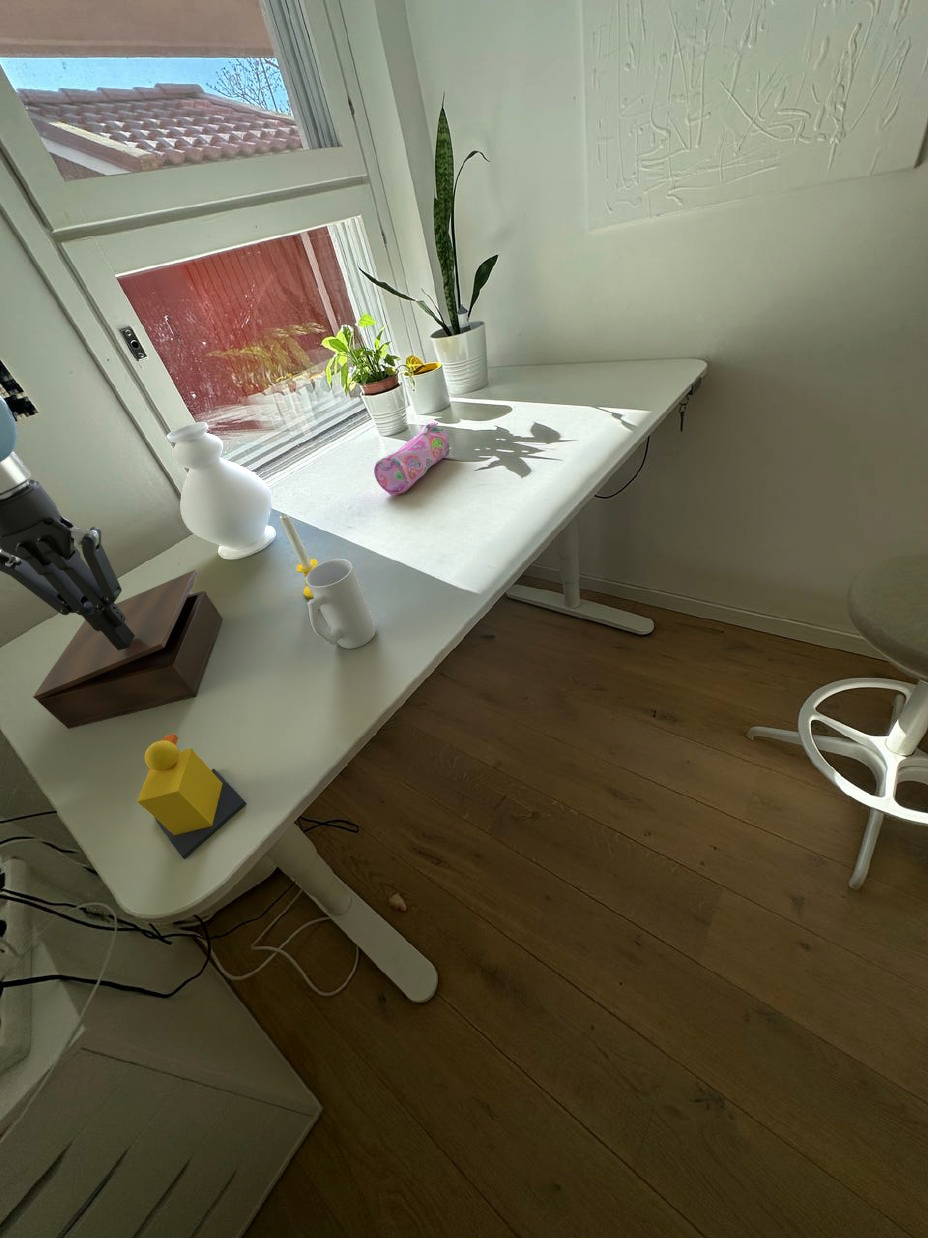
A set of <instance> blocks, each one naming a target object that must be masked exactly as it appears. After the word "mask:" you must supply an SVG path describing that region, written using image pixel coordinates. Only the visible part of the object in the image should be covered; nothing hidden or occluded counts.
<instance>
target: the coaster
mask: <svg viewBox="0 0 928 1238" xmlns="http://www.w3.org/2000/svg"><path fill="white" fill-rule="evenodd" d="M210 770H211V771H212V772H213V773H214V774H215V776H216V777H217V778H218V779H219V780H220V781H221V782H222V788H221V792H220V796H219V800H218V804H217V808H216V812H215V816H214V820H213V824H212V826H210V827H206V828H202V829H198V830H194V831H190V832H186V833H182V834H178V835H174V834H173V833H172V832H170V831H169V830H168V829H167V828H166V827H165V826H164V825H163V824H162V823H160V822H159V821H158V820H157V819H156V818H155V817H154V816H153V819H154V820H155V821H156V823H157V824H158V826H159V828H161V830H162V831H163V833H164V835H165V836H166V837H167V839H168V840H169V841H170V843H171V844H172V846H173V847H174V849H175V850H176V851H177V853H178V855H180V857H181V858H182V859H183V860H185V859H186V858H188V857H189V856H190V855H191V854H192V853H193V852H195V850H197V848H198V847H200V846H201V845H202V844H204V843H205V842H206V840H208V839H209V838H210V837H211V836H213V834H214V833H216V832H217V831H218V830H219V829H220V828H221V827H222V826H223V825H224V824H226V823H227V822H228V821H229V820H230V819H231V818H233V816H235V815H236V814H237V813H238V812H239V811H240V810H242V809H243V808H244V807H245V806H246V805H247V802H246V801H245V799H243V798H242V796H240V794H238V792H237V791H236V790H235V789H234V787H232V786H231V785H230V783H229V782H227V781H226V779H225V778H224V777H223V776H222V775H221V774H220V773H219V771H217V770H216V769H215V768H213V769H210Z"/></svg>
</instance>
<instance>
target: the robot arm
mask: <svg viewBox="0 0 928 1238" xmlns="http://www.w3.org/2000/svg"><path fill="white" fill-rule="evenodd" d="M17 441H18V428H17V422H16V420H15V418H14V416H13V412H12V411H11V409H10V407H9V405H8V404H7V402H6V400H5V399H4V398H3V397H2V396H1V395H0V572H1V573H4V574H6V575H8V576H10V577H11V578H13V579H14V580H15V581H16V582H18V583H19V584H21V585H22V586H23V587H25V588H26V589H27V590H29V591H30V592H31V593H32V594H33V595H35V596H37V597H38V598H39V599H41V601H43V602H44V603H46V604H47V605H48V606H50V607H51V609H53V610H55V611H56V612H57V613H59V614H60V615H62V616H68V615H70V614H76V615H78V616H81V617H82V618H83V619H84V621H85V620H86V621H87V622H88V623H89V624H90V625H91V627H92V628H93V629H94V630H96V631H102V633H103V634H104V635H105V636H106V637H107V638H108V640H109V641H110V642H111V643H112V644H113V645H114V646H115V648H116V649H117V650H122V649H126V648H129V646H130V644H131V642H132V640H133V638H134V637H135V635H134V634H133V632H132V631H131V630H130V629H129V628H128V626H127V625H126V624H125V623H124V621H125V616H124V614H123V613H122V612H121V611H120V609H119V608H118V607H117V606H116V604H117V603H115V602H116V601H117V599H118V597H119V596H120V594H122V591H123V589H122V586H121V584H120V582H119V580H118V578H117V575H116V574H115V571H114V569H113V567H112V565H111V562H110V560H109V558H108V556H107V554H106V551H105V549H104V547H103V545H102V531H101V529H100V528H99V527H96V526H92V527H90V528H89V529H86V528H81V527H77V526H75V525H74V524H73V523H72V522H71V521H70V520H68V519H67V518H65V517H64V516H63V515H62V514H61V513H60V512H59V509H58V506H57V504H56V502H55V501H54V500H53V498H52V497H51V495H49V494H48V492H47V491H46V489H45V488H44V487H43V485H42V484H41V483H40V481H37V480H35V479H31V476H32V472H31V471H30V469H29V468H28V467H27V466H26V464H25V463H24V462H23V461H22V459H21V458H20V456H18V454H17V453H16V451H15V450H14V449H15V448H16V446H17ZM75 541H76V543H77V547H76V546H75ZM78 548H79V549H81V551H82V555H83V558H84V560H85V561H84V560H83V558H82V557H81V552H80V551H79V549H78Z"/></svg>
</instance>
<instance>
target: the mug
mask: <svg viewBox="0 0 928 1238" xmlns="http://www.w3.org/2000/svg"><path fill="white" fill-rule="evenodd" d="M305 579H306V583H307V585H308V587H309V589H310V591H311V593H312V595H313V597H314V599H310V600H309V601H308V602H306V605H307V607H308V616H309V622H310V625H311V628H312V629H313V631H314V633H315V634H316V635H317V637H319V639H321V640H322V641H323V642H325V643H326V644H328V645H332V646H333V645H335V644H336V643H337V645H338V646H339V647H342V648H343V649H357V648H360V647H362V646H365V645H366V644H368V643H369V642H370V641H371V640H372V639H373V638H374V637H375V635H376V633H377V629H376V624H375V622H374V619H373V616H372V613H371V611H370V608H369V606H368V602H367V600H366V598H365V595H364V592H363V590H362V587H361V585H360V582H359V579H358V576H357V574H356V571H355V569H354V567H353V564H352V562H351V561H349V560H348V559H345V558H333V559H329V560H326V561H324V562H321V563H318V564H317V566H316V567H315V568H313V569H312V570H311V571H310V572H309V573H308V575H307V577H305ZM307 585H306V586H307ZM319 610H320V612H321V614H322V616H323V619H324V620H325V622H326V623H327V626H328V627H329V629H330V632H329V633H327V632H326V631H325V630H324V629H323V628H322V626H321V624H320V621H319Z"/></svg>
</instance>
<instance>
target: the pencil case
mask: <svg viewBox="0 0 928 1238" xmlns="http://www.w3.org/2000/svg"><path fill="white" fill-rule="evenodd" d="M437 425H439V422H429V423H427V424H426V425H424V426H422V427H421V428H420V430H419V432H418V433H417V435H415V436H414V437H413V438H411V439H410V440H408V441H407V442H406V443H404V445H401V447H400V448H399V449H397V450H396V451H395V452H392V453H390V454H387V455H386V456H384V457H382V458H380V459H379V460H377V461H376V463H375V465H374V469H373V473H374V477H375V480H376V482H377V484H378V485H379V486H380V487H381V488H382V490H383V491H385V492H386V493H388V494H389V495H391V496H397V495H401V494H404V493H406V492H407V491H408V490H410V488H412V487H413V485H414V484H415V482H417V481H418V480H419V479H420V478H421V477H423V476H424V475H425V474H426V473H427V471H428V469H430V468H431V467H432V466H434V465H436V464H437V463H438V462H440V461H441V460H442V459H445V458H447V457H448V456H449V454H450V449H451V448H450V441H449V436H448V433H447V432H446V430H444V429H443V428H441V427H439V426H437Z"/></svg>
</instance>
